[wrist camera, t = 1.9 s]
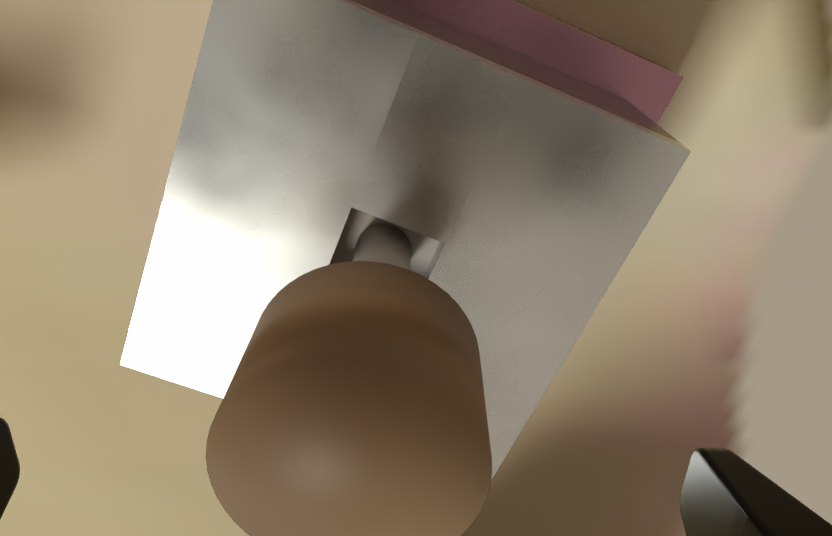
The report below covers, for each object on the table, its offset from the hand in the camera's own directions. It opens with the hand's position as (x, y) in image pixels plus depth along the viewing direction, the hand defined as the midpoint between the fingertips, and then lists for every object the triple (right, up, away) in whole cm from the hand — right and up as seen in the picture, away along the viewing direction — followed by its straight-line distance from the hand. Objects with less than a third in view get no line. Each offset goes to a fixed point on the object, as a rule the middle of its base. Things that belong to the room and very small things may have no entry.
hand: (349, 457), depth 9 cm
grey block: (0, +5, +10) cm, 11 cm away
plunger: (0, +3, +6) cm, 7 cm away
